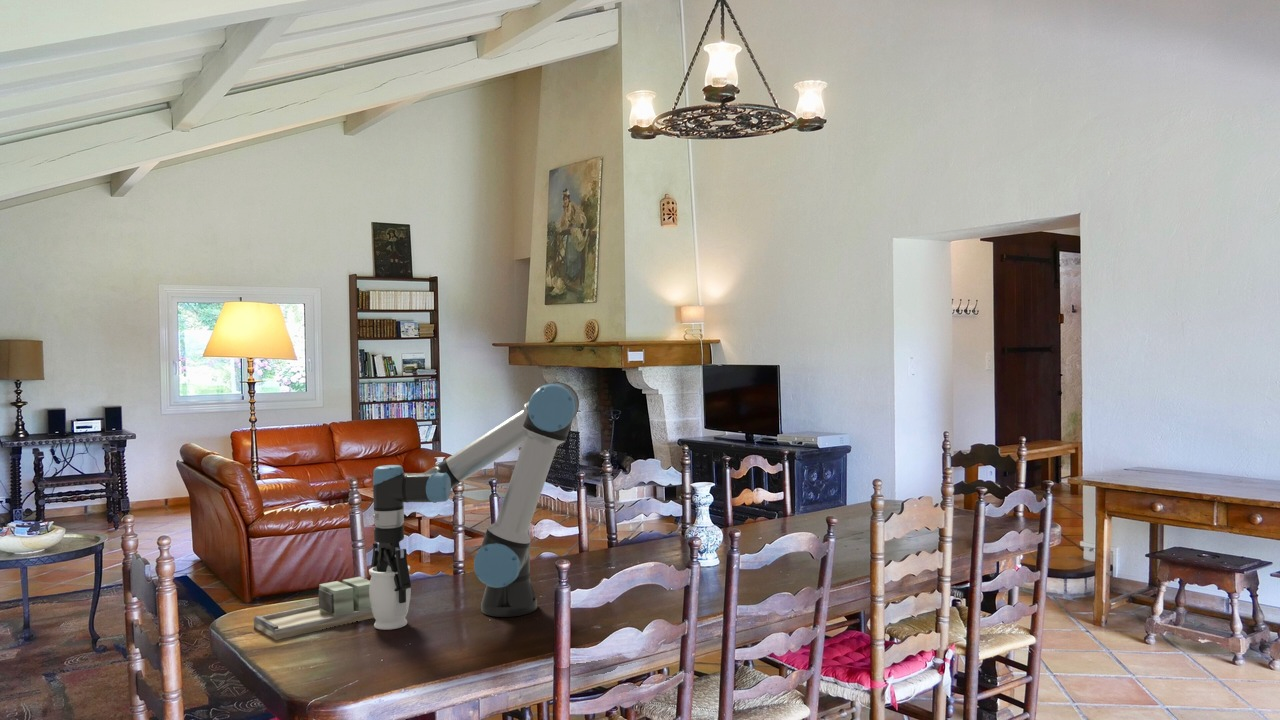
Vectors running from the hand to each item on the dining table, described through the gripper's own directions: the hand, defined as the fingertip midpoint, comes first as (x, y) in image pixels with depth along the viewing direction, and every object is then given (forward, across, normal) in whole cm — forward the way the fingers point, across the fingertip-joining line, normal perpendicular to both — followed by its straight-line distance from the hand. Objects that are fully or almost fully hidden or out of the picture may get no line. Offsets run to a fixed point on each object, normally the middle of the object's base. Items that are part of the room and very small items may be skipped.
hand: (390, 610), depth 236 cm
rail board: (+4, -17, -12) cm, 21 cm away
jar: (+4, 0, 0) cm, 4 cm away
